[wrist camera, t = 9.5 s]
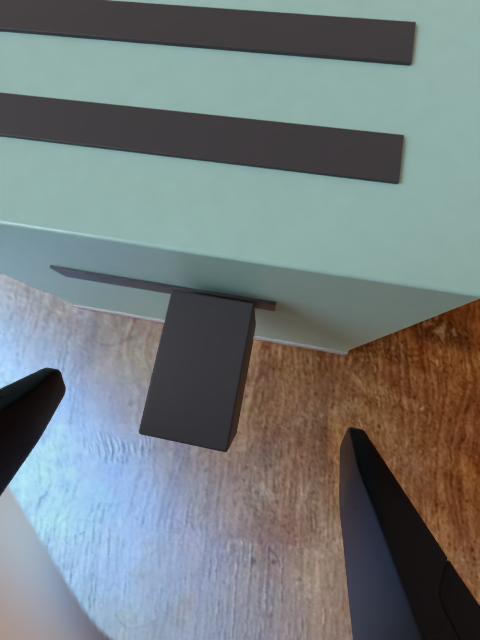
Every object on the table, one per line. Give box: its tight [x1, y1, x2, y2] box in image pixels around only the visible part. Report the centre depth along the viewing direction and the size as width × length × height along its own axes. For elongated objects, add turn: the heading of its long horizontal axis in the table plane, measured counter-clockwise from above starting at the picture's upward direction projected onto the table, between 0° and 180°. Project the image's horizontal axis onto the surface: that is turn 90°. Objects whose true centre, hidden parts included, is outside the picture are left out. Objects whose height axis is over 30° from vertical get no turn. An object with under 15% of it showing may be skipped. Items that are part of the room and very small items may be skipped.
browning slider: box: [139, 290, 256, 452], centre depth 10 cm, size 4×2×3 cm, turn 170°
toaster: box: [0, 0, 480, 355], centre depth 14 cm, size 9×16×12 cm, turn 80°
